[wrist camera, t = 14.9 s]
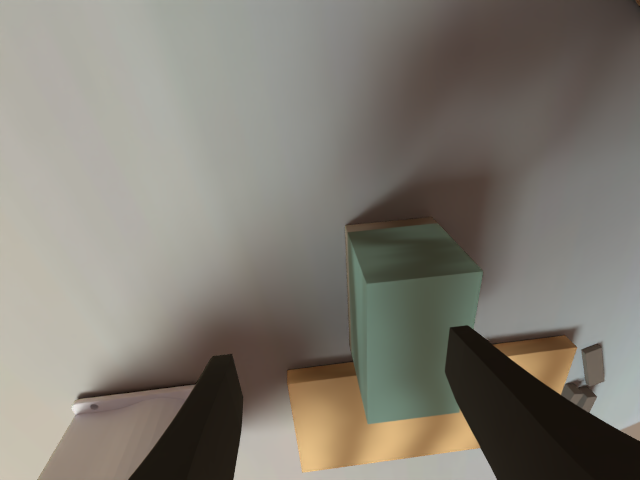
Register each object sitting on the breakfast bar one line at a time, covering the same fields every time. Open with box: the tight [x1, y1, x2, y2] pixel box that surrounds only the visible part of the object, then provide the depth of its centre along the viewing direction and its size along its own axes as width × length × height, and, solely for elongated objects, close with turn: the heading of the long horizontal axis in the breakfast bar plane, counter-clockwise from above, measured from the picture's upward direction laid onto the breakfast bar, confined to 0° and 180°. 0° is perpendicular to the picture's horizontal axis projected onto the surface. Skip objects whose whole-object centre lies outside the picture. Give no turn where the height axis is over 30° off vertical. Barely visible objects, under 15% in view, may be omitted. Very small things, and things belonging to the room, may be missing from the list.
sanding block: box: [345, 217, 483, 424], centre depth 20 cm, size 5×9×6 cm, turn 4°
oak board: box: [287, 335, 577, 473], centre depth 27 cm, size 20×10×1 cm, turn 94°
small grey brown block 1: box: [581, 344, 604, 387], centre depth 27 cm, size 1×4×1 cm, turn 25°
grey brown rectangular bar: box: [561, 384, 584, 405], centre depth 29 cm, size 1×4×1 cm
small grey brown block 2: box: [577, 387, 597, 412], centre depth 29 cm, size 1×4×1 cm
